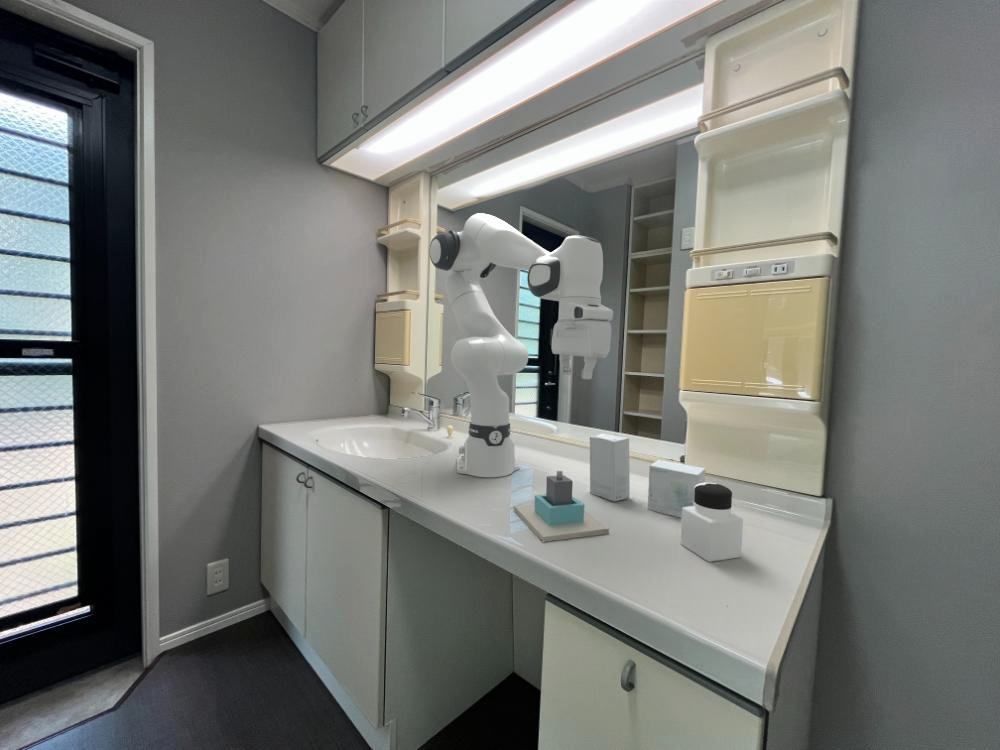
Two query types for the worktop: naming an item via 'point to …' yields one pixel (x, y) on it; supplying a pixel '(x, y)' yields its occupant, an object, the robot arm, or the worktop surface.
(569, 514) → the plate
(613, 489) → the skincare box
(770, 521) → the worktop surface
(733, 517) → the medicine bottle
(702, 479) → the skincare box
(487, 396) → the robot arm
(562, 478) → the block
